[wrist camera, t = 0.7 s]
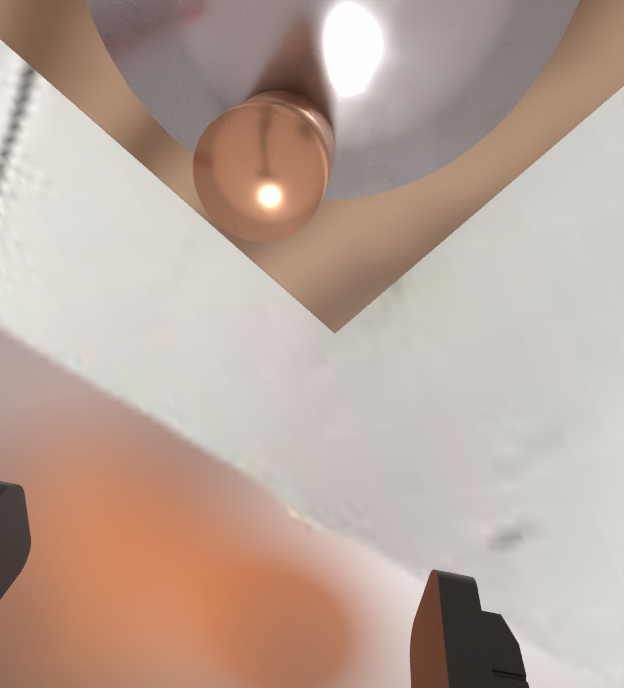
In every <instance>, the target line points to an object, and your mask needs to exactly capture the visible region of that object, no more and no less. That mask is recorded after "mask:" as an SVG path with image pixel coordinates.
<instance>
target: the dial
mask: <svg viewBox="0 0 624 688" xmlns="http://www.w3.org/2000/svg"><path fill="white" fill-rule="evenodd" d="M579 1H580V0H86V3H87V6H88V8H89V11H90V14H91V16H92V19H93V22H94V24H95V27H96V29H97V31H98V33H99V35H100V37H101V39H102V41H103V43H104V45H105V47H106V49H107V51H108V53H109V55H110V57H111V59H112V61H113V62H114V64H115V65H116V67H117V69H118V70H119V72H120V73H121V75H122V77H123V78H124V80H125V81H126V83H127V85H128V86H129V88H130V89H131V90H132V92H133V93H134V94H135V96H136V97H137V98H138V99H139V101H140V102H141V103H142V104H143V106H144V107H145V108H146V110H147V111H148V112H149V113H150V115H151V116H152V117H153V118H154V119H155V120H156V121H157V122H158V123H159V124H160V125H161V126H162V127H163V128H164V129H165V130H166V131H167V132H168V133H169V134H170V135H171V136H172V137H173V138H174V139H175V140H177V141H178V142H179V143H180V144H181V145H183V146H184V147H185V148H186V149H188V150H189V151H190V152H191V153H192V154H194V158H193V180H194V184H195V189H196V192H197V194H198V197H199V199H200V201H201V203H202V205H203V207H204V208H205V210H206V211H207V213H208V214H209V215H210V216H211V218H212V219H213V220H214V221H215V222H216V223H217V224H218V225H220V226H221V227H222V228H223V229H225V230H226V231H228V232H230V233H231V234H233V235H235V236H237V237H239V238H242V239H246V240H249V241H254V242H273V241H278V240H282V239H285V238H288V237H290V236H292V235H294V234H295V233H297V232H298V231H300V230H301V229H302V228H303V227H304V226H306V225H307V224H308V222H309V221H310V220H311V219H312V217H313V216H314V214H315V213H316V211H317V209H318V207H319V205H320V202H321V200H338V199H352V198H359V197H364V196H369V195H374V194H379V193H384V192H387V191H390V190H393V189H396V188H398V187H401V186H404V185H407V184H410V183H413V182H415V181H417V180H419V179H421V178H423V177H425V176H427V175H429V174H431V173H433V172H435V171H437V170H439V169H441V168H442V167H444V166H445V165H447V164H448V163H450V162H452V161H453V160H455V159H456V158H458V157H459V156H461V155H462V154H464V153H465V152H467V151H468V150H469V149H470V148H472V147H473V146H474V145H475V144H476V143H478V142H479V141H480V140H481V139H482V138H484V137H485V136H486V135H487V134H488V133H490V132H491V131H492V130H493V129H494V128H495V127H496V126H497V125H498V124H499V123H500V122H501V121H502V120H503V119H504V117H505V116H506V115H507V114H508V113H509V112H510V111H511V110H512V109H513V108H514V107H515V106H516V105H517V104H518V102H519V101H520V100H521V99H522V97H523V96H524V95H525V93H526V92H527V91H528V89H529V88H530V87H531V86H532V84H533V83H534V82H535V80H536V79H537V78H538V76H539V75H540V74H541V72H542V70H543V69H544V67H545V65H546V64H547V62H548V60H549V59H550V57H551V56H552V54H553V52H554V51H555V49H556V47H557V46H558V44H559V42H560V41H561V39H562V37H563V35H564V32H565V30H566V28H567V26H568V24H569V22H570V20H571V18H572V16H573V14H574V12H575V9H576V7H577V5H578V3H579Z"/></svg>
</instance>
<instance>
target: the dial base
mask: <svg viewBox="0 0 624 688" xmlns="http://www.w3.org/2000/svg"><path fill="white" fill-rule="evenodd" d="M0 39H1V40H2V41H3V42H4V43H5V44H6V45H7V46H9V47H10V48H11V49H12V50H13V51H14V52H15V53H17V54H18V55H19V56H20V57H21V58H22V59H23V60H25V61H26V62H27V63H28V64H29V65H30V66H31V67H32V68H34V69H35V70H36V71H37V72H38V73H39V74H40V75H42V76H43V77H44V78H45V79H46V80H47V81H48V82H50V83H51V84H52V85H53V86H54V87H55V88H56V89H58V90H59V91H60V92H61V93H62V94H63V95H64V96H65V97H67V98H68V99H69V100H70V101H71V102H72V103H73V104H75V105H76V106H77V107H78V108H79V109H80V110H81V111H83V112H84V113H85V114H86V115H87V116H88V117H89V118H90V119H92V120H93V121H94V122H95V123H96V124H97V125H98V126H100V127H101V128H102V129H103V130H104V131H105V132H106V133H108V134H109V135H110V136H111V137H112V138H113V139H114V140H115V141H117V142H118V143H119V144H120V145H121V146H122V147H123V148H125V149H126V150H127V151H128V152H129V153H130V154H131V155H133V156H134V157H135V158H136V159H137V160H138V161H139V162H141V163H142V164H143V165H144V166H145V167H146V168H147V169H148V170H150V171H151V172H152V173H153V174H154V175H155V176H156V177H158V178H159V179H160V180H161V181H162V182H163V183H164V184H166V185H167V186H168V187H169V188H170V189H171V190H172V191H173V192H175V193H176V194H177V195H178V196H179V197H180V198H181V199H183V200H184V201H185V202H186V203H187V204H188V205H189V206H191V207H192V208H193V209H194V210H195V211H196V212H197V213H198V214H200V215H201V216H202V217H203V218H204V219H205V220H206V221H208V222H209V223H210V224H211V225H212V226H213V227H214V228H216V229H217V230H218V231H219V232H220V233H221V234H222V235H224V236H225V237H226V238H227V239H228V240H229V241H230V242H231V243H233V244H234V245H235V246H236V247H237V248H238V249H239V250H241V251H242V252H243V253H244V254H245V255H246V256H247V257H249V258H250V259H251V260H252V261H253V262H254V263H255V264H256V265H258V266H259V267H260V268H261V269H262V270H263V271H264V272H266V273H267V274H268V275H269V276H270V277H271V278H272V279H274V280H275V281H276V282H277V283H278V284H279V285H280V286H281V287H283V288H284V289H285V290H286V291H287V292H288V293H289V294H291V295H292V296H293V297H294V298H295V299H296V300H297V301H299V302H300V303H301V304H302V305H303V306H304V307H305V308H306V309H308V310H309V311H310V312H311V313H312V314H313V315H314V316H316V317H317V318H318V319H319V320H320V321H321V322H322V323H324V324H325V325H326V326H327V327H328V328H329V329H330V330H332V331H333V332H334V333H336V332H337V331H339V330H340V329H341V328H342V327H343V326H344V325H346V324H347V323H348V322H349V321H350V320H351V319H353V318H354V317H355V316H356V315H357V314H358V313H360V312H361V311H362V310H363V309H364V308H365V307H367V306H368V305H369V304H370V303H371V302H372V301H374V300H375V299H376V298H377V297H378V296H379V295H381V294H382V293H383V292H384V291H385V290H386V289H387V288H389V287H390V286H391V285H392V284H393V283H394V282H396V281H397V280H398V279H399V278H400V277H401V276H403V275H404V274H405V273H406V272H407V271H408V270H410V269H411V268H412V267H413V266H414V265H415V264H417V263H418V262H419V261H420V260H421V259H422V258H424V257H425V256H426V255H427V254H428V253H429V252H431V251H432V250H433V249H434V248H435V247H436V246H438V245H439V244H440V243H441V242H442V241H443V240H445V239H446V238H447V237H448V236H449V235H450V234H452V233H453V232H454V231H455V230H456V229H457V228H459V227H460V226H461V225H462V224H463V223H464V222H466V221H467V220H468V219H469V218H470V217H471V216H473V215H474V214H475V213H476V212H477V211H478V210H480V209H481V208H482V207H483V206H484V205H485V204H487V203H488V202H489V201H490V200H491V199H492V198H494V197H495V196H496V195H497V194H498V193H499V192H500V191H502V190H503V189H504V188H505V187H506V186H507V185H509V184H510V183H511V182H512V181H513V180H514V179H516V178H517V177H518V176H519V175H520V174H521V173H523V172H524V171H525V170H526V169H527V168H528V167H530V166H531V165H532V164H533V163H534V162H535V161H537V160H538V159H539V158H540V157H541V156H542V155H544V154H545V153H546V152H547V151H548V150H549V149H551V148H552V147H553V146H554V145H555V144H556V143H558V142H559V141H560V140H561V139H562V138H563V137H565V136H566V135H567V134H568V133H569V132H570V131H572V130H573V129H574V128H575V127H576V126H577V125H579V124H580V123H581V122H582V121H583V120H584V119H586V118H587V117H588V116H589V115H590V114H591V113H593V112H594V111H595V110H596V109H597V108H598V107H600V106H601V105H602V104H603V103H604V102H605V101H607V100H608V99H609V98H610V97H611V96H612V95H613V94H615V93H616V92H617V91H618V90H619V89H620V88H622V87H623V86H624V0H580V1H579V3H578V5H577V7H576V9H575V12H574V14H573V16H572V18H571V20H570V22H569V24H568V26H567V28H566V30H565V32H564V35H563V37H562V39H561V41H560V42H559V44H558V46H557V47H556V49H555V51H554V52H553V54H552V56H551V57H550V59H549V60H548V62H547V64H546V65H545V67H544V69H543V70H542V72H541V74H540V75H539V76H538V78H537V79H536V80H535V82H534V83H533V84H532V86H531V87H530V88H529V89H528V91H527V92H526V93H525V95H524V96H523V97H522V99H521V100H520V101H519V102H518V104H517V105H516V106H515V107H514V108H513V109H512V110H511V111H510V112H509V113H508V114H507V115H506V116H505V117H504V119H503V120H502V121H501V122H500V123H499V124H498V125H497V126H496V127H495V128H494V129H493V130H492V131H491V132H490V133H488V134H487V135H486V136H485V137H484V138H482V139H481V140H480V141H479V142H478V143H476V144H475V145H474V146H473V147H472V148H470V149H469V150H468V151H467V152H465V153H464V154H462V155H461V156H459V157H458V158H456V159H455V160H453V161H452V162H450V163H448V164H447V165H445V166H444V167H442V168H441V169H439V170H437V171H435V172H433V173H431V174H429V175H427V176H425V177H423V178H421V179H419V180H417V181H415V182H413V183H410V184H407V185H404V186H401V187H398V188H396V189H393V190H390V191H387V192H384V193H379V194H374V195H369V196H364V197H359V198H352V199H338V200H321V202H320V205H319V207H318V209H317V211H316V213H315V214H314V216H313V217H312V219H311V220H310V221H309V222H308V224H307V225H306V226H304V227H303V228H302V229H301V230H300V231H298V232H297V233H295V234H294V235H292V236H290V237H288V238H285V239H282V240H278V241H273V242H254V241H249V240H246V239H242V238H239V237H237V236H235V235H233V234H231V233H230V232H228V231H226V230H225V229H223V228H222V227H221V226H220V225H218V224H217V223H216V222H215V221H214V220H213V219H212V218H211V216H210V215H209V214H208V213H207V211H206V210H205V208H204V207H203V205H202V203H201V201H200V199H199V197H198V194H197V192H196V189H195V184H194V180H193V158H194V154H192V153H191V152H190V151H189V150H188V149H186V148H185V147H184V146H183V145H181V144H180V143H179V142H178V141H177V140H175V139H174V138H173V137H172V136H171V135H170V134H169V133H168V132H167V131H166V130H165V129H164V128H163V127H162V126H161V125H160V124H159V123H158V122H157V121H156V120H155V119H154V118H153V117H152V116H151V115H150V113H149V112H148V111H147V110H146V108H145V107H144V106H143V104H142V103H141V102H140V101H139V99H138V98H137V97H136V96H135V94H134V93H133V92H132V90H131V89H130V88H129V86H128V85H127V83H126V81H125V80H124V78H123V77H122V75H121V73H120V72H119V70H118V69H117V67H116V65H115V64H114V62H113V61H112V59H111V57H110V55H109V53H108V51H107V49H106V47H105V45H104V43H103V41H102V39H101V37H100V35H99V33H98V31H97V29H96V27H95V24H94V22H93V19H92V16H91V14H90V11H89V8H88V6H87V3H86V0H0Z"/></svg>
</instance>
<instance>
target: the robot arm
mask: <svg viewBox="0 0 624 688" xmlns="http://www.w3.org/2000/svg"><path fill="white" fill-rule="evenodd" d="M30 547H31V536H30V529H29V522H28V515H27V508H26V501H25V494H24V490H23V488H22V487H21V486H20V485H17V484H13V483H7V482H3V481H0V599H1V598H2V596H3V595H4V594H5V592H6V591H7V590H8V588H9V587H10V586H11V584H12V583H13V582H14V580H15V579H16V578H17V576H18V575H19V574H20V572H21V571H22V569H23V567H24V565H25V563H26V561H27V558H28V555H29V552H30ZM410 668H411V688H529V685H528V683H527V682H526V672H525V669H524V664H523V660H522V655H521V651H520V647H519V644H518V642H517V640H516V639H515V637H514V635H513V634H512V632H511V630H510V629H509V627H508V625H507V624H506V622H505V621H504V619H503V617H502V616H501V614H496V613H491V612H486V611H481V605H480V599H479V594H478V588H477V584H476V581H475V579H474V578H473V577H469V576H464V575H459V574H454V573H449V572H444V571H439V570H432V571H431V573H430V575H429V578H428V581H427V584H426V587H425V590H424V593H423V596H422V599H421V602H420V604H419V607H418V610H417V613H416V616H415V619H414V623H413V627H412V633H411V642H410Z"/></svg>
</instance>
